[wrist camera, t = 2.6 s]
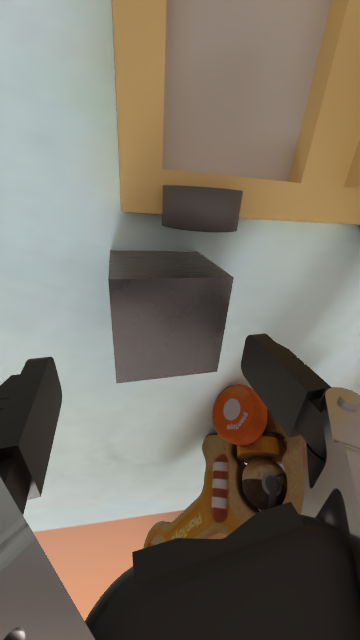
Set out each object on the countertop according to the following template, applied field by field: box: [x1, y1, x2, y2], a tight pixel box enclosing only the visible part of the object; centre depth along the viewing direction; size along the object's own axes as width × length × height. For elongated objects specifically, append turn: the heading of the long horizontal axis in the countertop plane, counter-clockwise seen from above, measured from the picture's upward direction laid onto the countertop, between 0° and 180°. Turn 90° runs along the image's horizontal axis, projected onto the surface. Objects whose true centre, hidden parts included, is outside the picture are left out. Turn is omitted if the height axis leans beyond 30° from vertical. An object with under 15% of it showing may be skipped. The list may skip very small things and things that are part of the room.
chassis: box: [112, 0, 360, 232], centre depth 11 cm, size 21×13×4 cm, turn 86°
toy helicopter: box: [143, 384, 304, 549], centre depth 20 cm, size 8×21×14 cm, turn 138°
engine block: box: [109, 251, 233, 383], centre depth 14 cm, size 6×6×6 cm
